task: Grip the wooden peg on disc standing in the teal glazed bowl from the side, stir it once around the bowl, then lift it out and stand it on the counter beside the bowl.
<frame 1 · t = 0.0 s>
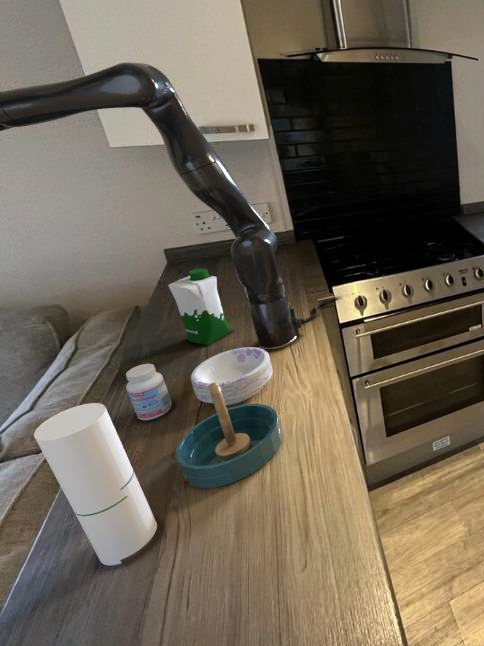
bowl: (236, 454, 87), on the table
paper bowls: (239, 392, 104), on the table
cylindrical container: (130, 543, 71), on the table
pill bottle: (156, 412, 98), on the table
wooden peg on disc: (235, 451, 87), point 1 cm above the table, touching bowl
milk carton: (209, 337, 126), on the table
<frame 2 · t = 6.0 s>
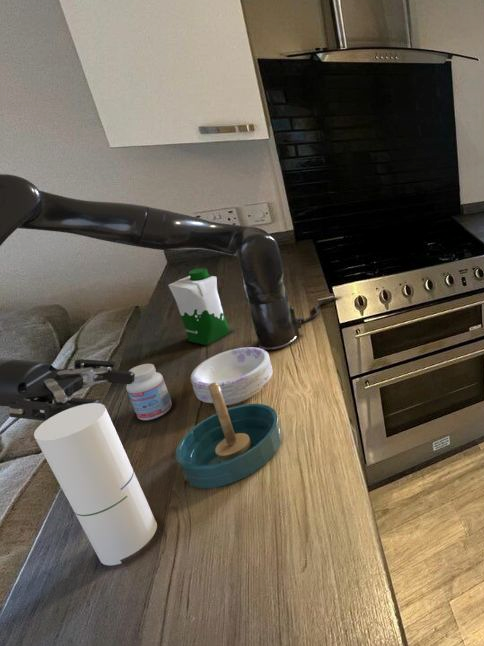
hand: (116, 391, 78), 18 cm above the table, tool horizontal, fingers open, 8 cm apart
nothing on the table moved.
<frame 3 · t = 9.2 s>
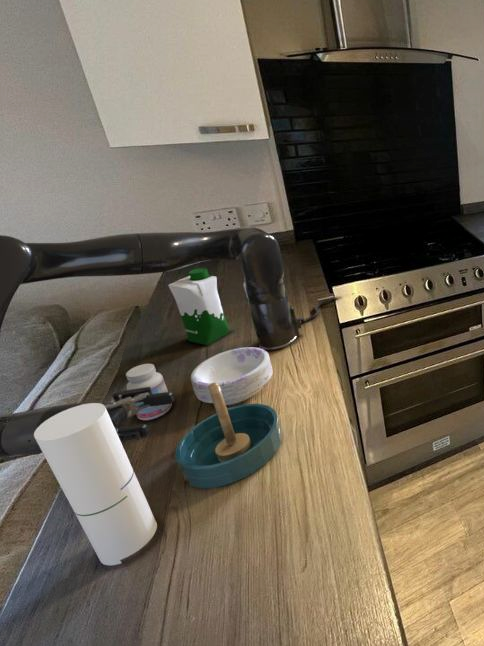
hand: (160, 413, 80), 13 cm above the table, tool horizontal, fingers open, 8 cm apart
nothing on the table moved.
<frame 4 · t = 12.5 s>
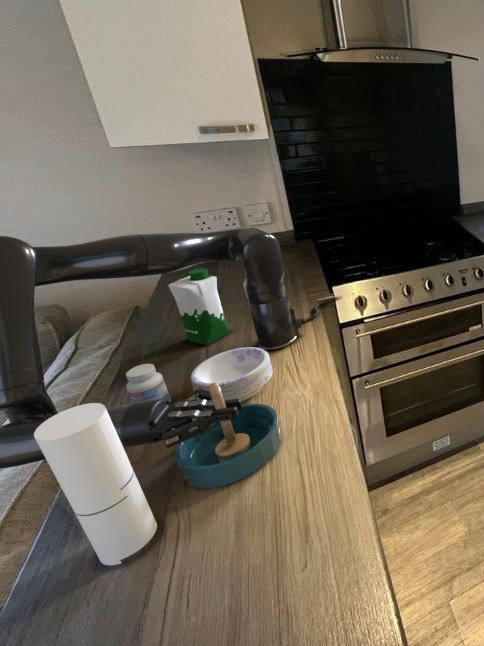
hand: (239, 408, 84), 11 cm above the table, tool horizontal, fingers closed on wooden peg on disc
wooden peg on disc: (234, 451, 86), point 1 cm above the table, touching bowl, gripper
everything else where it was.
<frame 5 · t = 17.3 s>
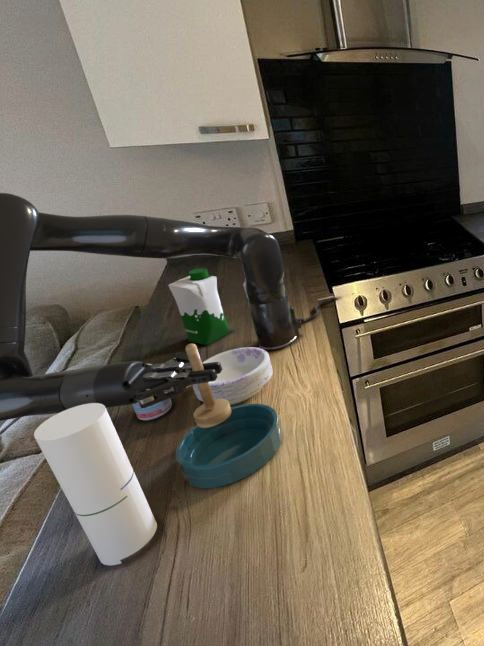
hand: (217, 371, 81), 19 cm above the table, tool horizontal, fingers closed on wooden peg on disc
wooden peg on disc: (214, 416, 84), point 9 cm above the table, touching gripper
everything else where it was.
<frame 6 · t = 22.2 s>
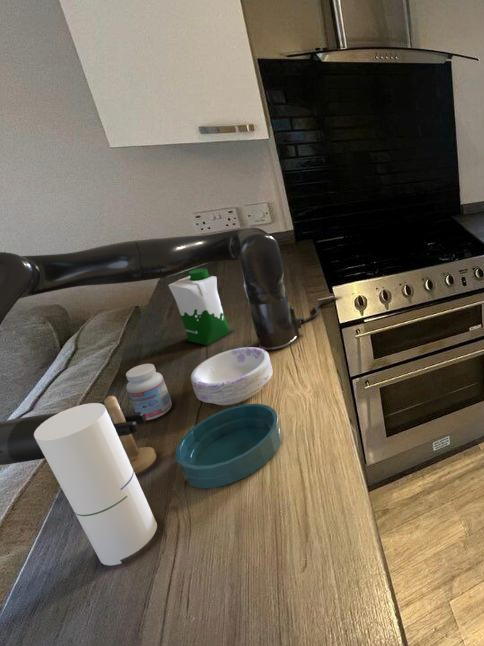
hand: (140, 422, 81), 10 cm above the table, tool horizontal, fingers closed
wooden peg on disc: (138, 466, 84), on the table
everything else where it was.
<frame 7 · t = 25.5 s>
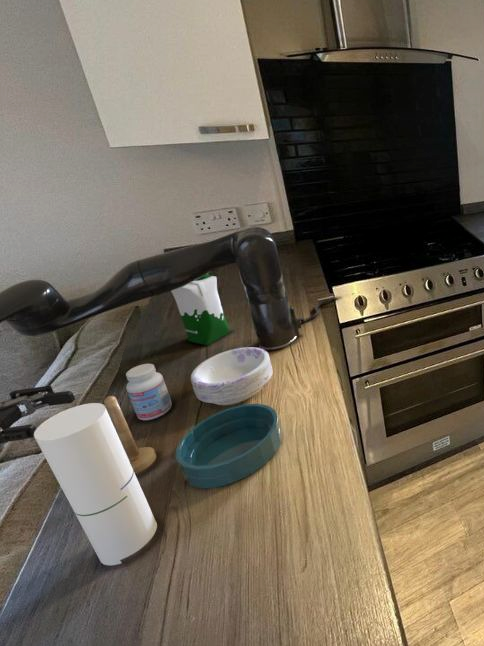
hand: (54, 412, 78), 14 cm above the table, tool horizontal, fingers open, 8 cm apart
nothing on the table moved.
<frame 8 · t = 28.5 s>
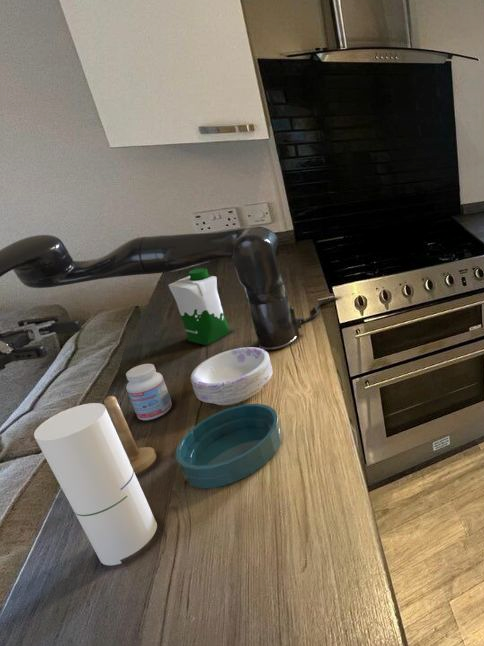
hand: (62, 337, 81), 25 cm above the table, tool horizontal, fingers open, 8 cm apart
nothing on the table moved.
at the end: wooden peg on disc inside the target area (0.1 cm from its centre), on the table; wooden peg on disc tilted 0°; the gripper is holding nothing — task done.
